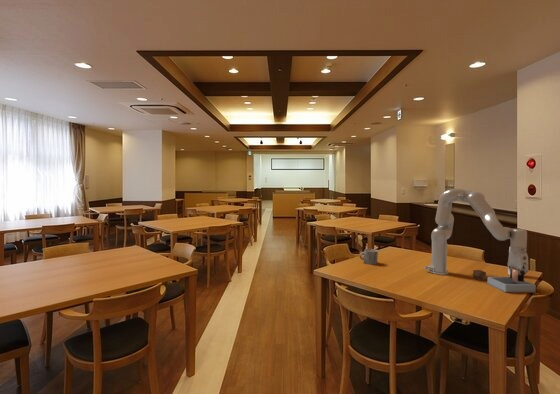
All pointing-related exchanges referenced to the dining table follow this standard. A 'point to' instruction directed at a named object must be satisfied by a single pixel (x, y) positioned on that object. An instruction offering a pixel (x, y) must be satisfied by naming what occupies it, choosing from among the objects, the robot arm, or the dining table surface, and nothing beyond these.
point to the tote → (511, 285)
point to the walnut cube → (479, 274)
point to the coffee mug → (370, 256)
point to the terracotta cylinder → (515, 275)
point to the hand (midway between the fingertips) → (516, 279)
